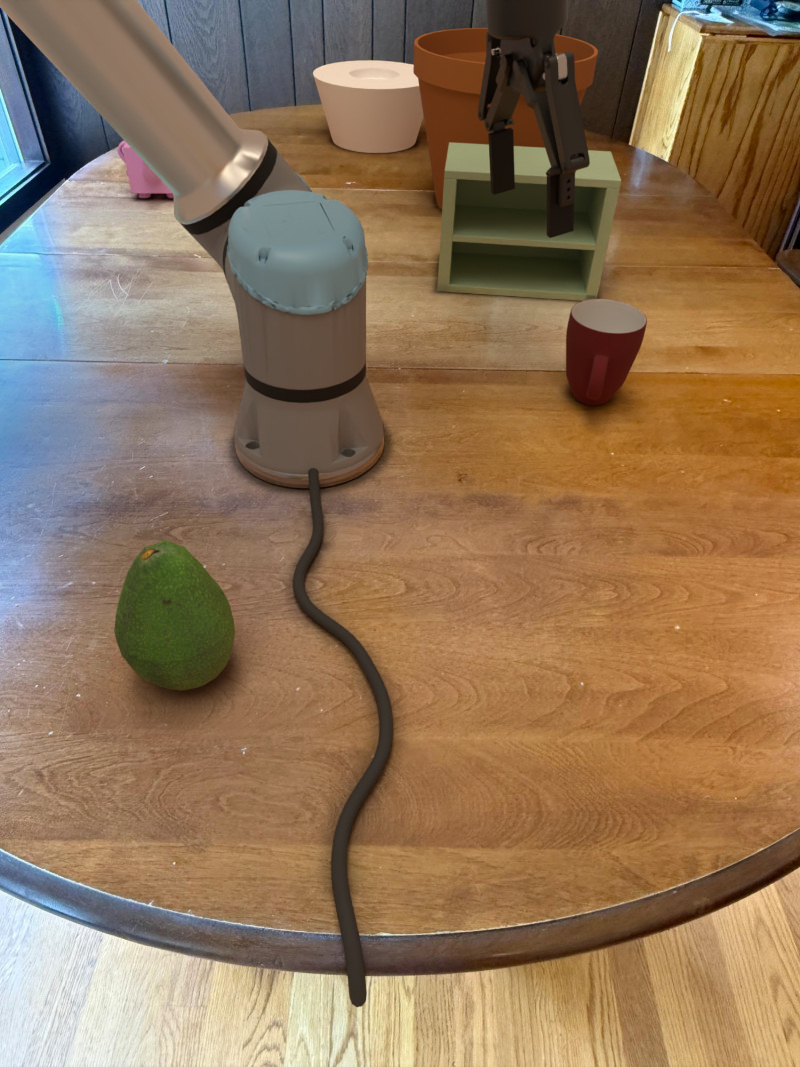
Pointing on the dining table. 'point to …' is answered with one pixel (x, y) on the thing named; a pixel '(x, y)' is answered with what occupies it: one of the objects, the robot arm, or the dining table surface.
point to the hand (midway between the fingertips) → (529, 211)
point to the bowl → (370, 104)
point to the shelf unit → (523, 227)
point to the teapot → (141, 174)
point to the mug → (601, 347)
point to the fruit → (173, 619)
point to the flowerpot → (474, 92)
